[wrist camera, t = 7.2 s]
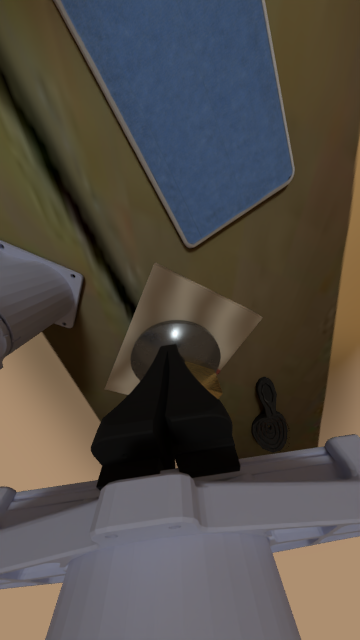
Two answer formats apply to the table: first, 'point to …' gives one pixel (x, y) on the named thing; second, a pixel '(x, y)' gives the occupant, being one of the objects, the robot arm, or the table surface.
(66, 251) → the table surface
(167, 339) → the dial
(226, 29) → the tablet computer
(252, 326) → the dial board
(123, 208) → the table surface
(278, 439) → the hairbrush
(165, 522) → the robot arm
